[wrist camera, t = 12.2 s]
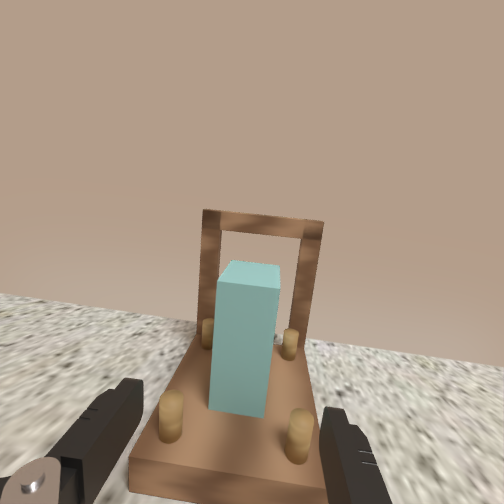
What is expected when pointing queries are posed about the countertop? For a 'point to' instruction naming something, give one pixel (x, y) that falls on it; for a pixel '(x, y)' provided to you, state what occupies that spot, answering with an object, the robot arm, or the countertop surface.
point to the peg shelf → (234, 425)
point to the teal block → (243, 337)
